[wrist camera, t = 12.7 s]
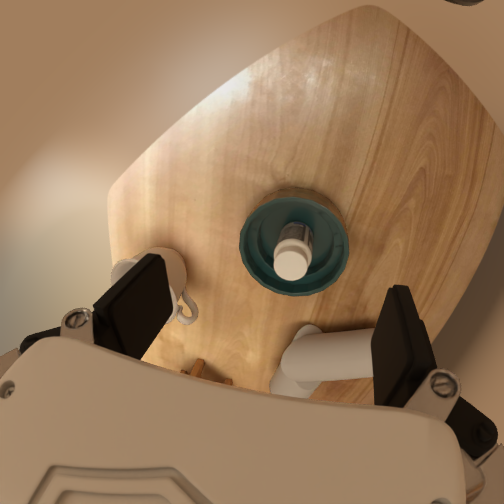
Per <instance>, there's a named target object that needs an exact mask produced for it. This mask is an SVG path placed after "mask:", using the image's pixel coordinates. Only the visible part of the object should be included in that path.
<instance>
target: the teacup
mask: <svg viewBox="0 0 504 504" xmlns="http://www.w3.org/2000/svg"><path fill="white" fill-rule="evenodd" d="M147 253H153V254H160V255H161V256H162V258H163V259H164V260H165V264H166V270H167V276H168V281H169V287H170V292H171V298H172V303H173V313H172V315H171V316H170V318H169V319H168V320H167V322H166V323H165V324H167V323H169V322H171V321H172V320H173V319H174V318H175V316H176V313H177V312H178V313H177V319H178V321H179V322H180V323H182V324H184V325H190V324H192V323H193V322H194V321H195V320H196V319H197V317H198V307H197V305H196V303H195V302H194V301H193V300H192V299H191V298H190V297H189V295H188V293H187V291H186V287H185V285H186V281H187V272H186V269H185V262H184V260H183V258H182V256H181V255H180V254H179V253H178V252H177V251H175V250H173V249H170V248H162V247H153V248H149V249H147V250H145V251H143V252H141V253H139V254H138V255H136V256H135V257H133V258H132V259H124V260H121V261H119V262H117V263H116V264H115V266H114V267H113V269H112V273H111V283H112V286H113V285H114V284H115V283H116V282H117V281H118V280H119V279H120V278H121V277H122V276H123V275H124V274H125V273H126V272H127V271H129V270H130V269H131V268H132V267H133V266H134V265H135V264H136V263H137V262H138V261H139V260H140V259H141V258H143V257H144V256H145V255H146V254H147ZM181 294H182V297H183V300H184V301H185V303H186V304H187V305H188V306H189V308H190V309H191V312H192V317H186V316H184V315H183V313H182V310H183V307H182V306H180V305H177V302H178V300H179V298H180V296H181Z"/></svg>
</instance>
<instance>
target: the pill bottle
mask: <svg viewBox="0 0 504 504" xmlns="http://www.w3.org/2000/svg"><path fill="white" fill-rule="evenodd" d="M312 249H313V233H312V231H311V229H310V228H309V227H308V226H307V225H306V224H304V223H302V222H290V223H288V224H287V225H285V226H284V227H283V229H282V231H281V233H280V236H279V239H278V242H277V245H276V247H275V250H274V269H275V272H276V273H277V274H278V276H280V277H281V278H283V279H285V280H289V281H294V280H298V279H300V278H302V277H303V276H304V275H305V273H306V272H307V268H308V266H309V265H310V263H311V260H312Z"/></svg>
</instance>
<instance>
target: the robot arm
mask: <svg viewBox="0 0 504 504" xmlns="http://www.w3.org/2000/svg"><path fill="white" fill-rule="evenodd" d="M93 307H94V311H93V312H91V311H90V310H89V309H87V308H77V309H74V310H72V311H70V312H68V313H67V314H66V315H65V316H64V318H63V319H62V323H61V327H57V328H53V329H50V330H46V331H42V332H39V333H35V334H32V335H29V336H27V337H26V338H25V339H24V340H23V342H22V343H21V345H20V350H18V348H16V349H13V350H12V351H10V352H8V353H6V354H4V355H2V356H0V504H504V446H503V445H502V444H500V445H498V444H497V438H498V432H497V428H496V426H495V424H494V423H493V422H492V421H491V420H490V419H489V418H488V417H486V416H485V415H484V414H483V413H481V412H480V411H479V410H477V409H476V408H475V407H474V406H472V405H471V404H470V403H468V402H467V401H466V400H464V399H463V398H462V397H460V393H461V383H460V380H459V379H458V377H457V376H456V375H455V374H454V373H453V372H451V371H449V370H447V369H443V368H438V369H437V365H436V362H435V358H434V354H433V351H432V347H431V344H430V341H429V337H428V334H427V331H426V328H425V325H424V322H423V321H422V320H420V319H419V315H418V312H417V309H416V307H415V304H414V301H413V298H412V295H411V292H410V290H409V287H408V286H404V285H394V286H393V288H389V289H388V291H387V294H386V297H385V301H384V304H383V307H382V310H381V313H380V315H379V318H378V321H377V324H376V327H375V329H374V332H373V335H372V338H371V355H372V368H373V383H374V404H375V405H365V404H352V403H341V402H331V401H322V400H313V399H305V398H298V397H291V396H284V395H278V394H272V393H266V392H261V391H255V390H250V389H245V388H240V387H236V386H231V385H227V384H222V383H218V382H214V381H210V380H206V379H202V378H198V377H194V376H190V375H187V374H183V373H180V372H176V371H173V370H169V369H166V368H162V367H159V366H156V365H153V364H150V363H147V362H144V361H141V358H142V357H143V355H144V354H145V352H146V351H147V349H148V348H149V346H150V345H151V344H152V342H153V341H154V339H155V338H156V336H157V335H158V333H159V332H160V330H161V329H162V328H163V326H164V325H165V323H166V322H167V320H168V319H169V318H170V316H171V315H172V313H173V303H172V298H171V292H170V287H169V281H168V276H167V270H166V264H165V260H164V259H163V258H162V256H161V255H160V254H153V253H147V254H146V255H145V256H144V257H143V258H141V259H140V260H139V261H138V262H137V263H136V264H135V265H134V266H133V267H132V268H131V269H130V270H129V271H127V272H126V273H125V274H124V275H123V276H122V277H121V278H120V279H119V280H118V281H117V282H116V283H115V284H114V285H113V286H112V287H111V288H110V289H109V290H108V291H107V292H106V293H105V294H104V295H103V296H102V297H101V298H100V299H99V300H98V301H97V302H96V303H95V304H94V305H93Z"/></svg>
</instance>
